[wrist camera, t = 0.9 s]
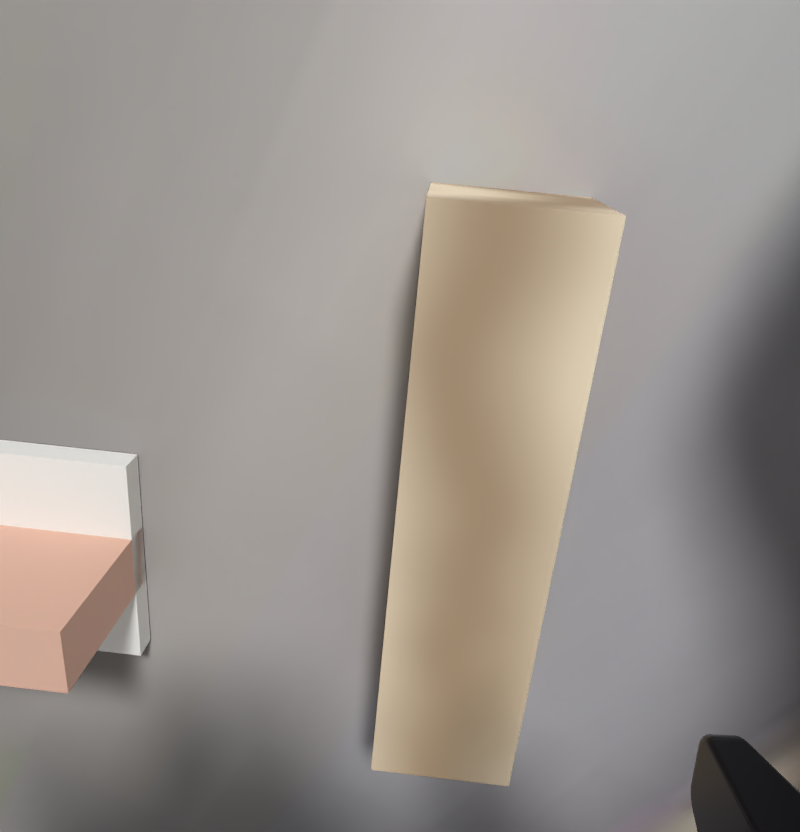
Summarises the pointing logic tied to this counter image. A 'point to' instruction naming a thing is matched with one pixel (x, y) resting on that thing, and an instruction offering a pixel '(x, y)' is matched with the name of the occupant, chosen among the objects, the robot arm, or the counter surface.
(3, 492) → the fulcrum
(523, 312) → the beam
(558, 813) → the counter surface
